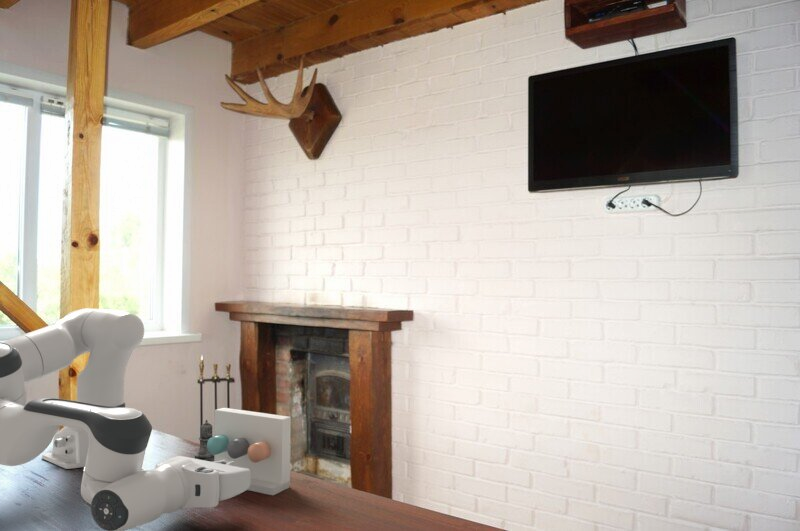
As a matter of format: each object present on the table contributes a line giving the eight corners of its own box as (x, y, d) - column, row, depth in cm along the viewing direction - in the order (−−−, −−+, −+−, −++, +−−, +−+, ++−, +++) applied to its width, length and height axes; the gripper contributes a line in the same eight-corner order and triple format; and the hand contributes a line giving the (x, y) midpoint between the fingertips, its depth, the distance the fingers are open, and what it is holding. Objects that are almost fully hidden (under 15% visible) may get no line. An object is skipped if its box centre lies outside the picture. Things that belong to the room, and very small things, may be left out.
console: (204, 480, 147) (205, 412, 147) (222, 473, 152) (223, 407, 152) (273, 495, 137) (273, 422, 138) (289, 487, 143) (290, 416, 143)
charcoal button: (226, 457, 142) (227, 439, 142) (235, 454, 144) (236, 436, 144) (240, 459, 140) (240, 441, 140) (249, 456, 143) (249, 438, 143)
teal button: (206, 453, 144) (207, 436, 144) (216, 450, 147) (216, 433, 147) (220, 456, 143) (220, 438, 143) (229, 452, 145) (229, 435, 145)
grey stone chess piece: (210, 472, 153) (211, 423, 153) (188, 470, 154) (189, 421, 154) (222, 465, 159) (223, 417, 159) (201, 463, 160) (201, 416, 160)
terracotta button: (247, 461, 139) (247, 443, 139) (256, 457, 142) (256, 440, 142) (261, 463, 137) (262, 445, 137) (270, 460, 140) (270, 442, 140)
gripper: (140, 491, 123) (193, 471, 135) (219, 509, 114) (268, 487, 126) (140, 458, 123) (193, 442, 135) (219, 474, 114) (268, 455, 126)
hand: (230, 464), depth 131 cm, fingers closed
